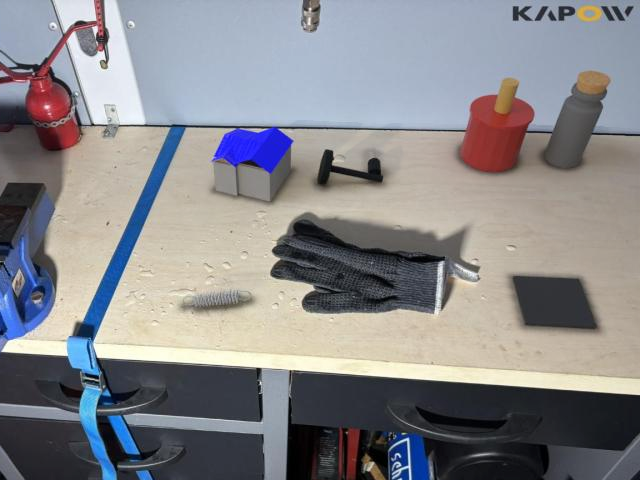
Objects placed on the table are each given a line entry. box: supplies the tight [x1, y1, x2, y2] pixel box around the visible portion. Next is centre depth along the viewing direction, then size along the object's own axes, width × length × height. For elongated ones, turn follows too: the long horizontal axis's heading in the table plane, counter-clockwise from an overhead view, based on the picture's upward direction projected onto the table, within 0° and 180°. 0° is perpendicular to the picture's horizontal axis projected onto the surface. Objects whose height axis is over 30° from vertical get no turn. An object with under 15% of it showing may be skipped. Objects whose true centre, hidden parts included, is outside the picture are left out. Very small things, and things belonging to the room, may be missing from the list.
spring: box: [181, 289, 252, 308], centre depth 86 cm, size 10×2×2 cm, turn 95°
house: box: [210, 126, 294, 202], centre depth 103 cm, size 10×11×8 cm
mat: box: [512, 275, 597, 330], centre depth 83 cm, size 9×9×1 cm
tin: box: [460, 113, 530, 173], centre depth 104 cm, size 9×9×8 cm
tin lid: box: [469, 77, 536, 130], centre depth 99 cm, size 10×10×6 cm
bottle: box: [543, 70, 611, 169], centre depth 100 cm, size 6×6×15 cm
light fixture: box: [317, 147, 384, 186], centre depth 105 cm, size 6×11×13 cm
